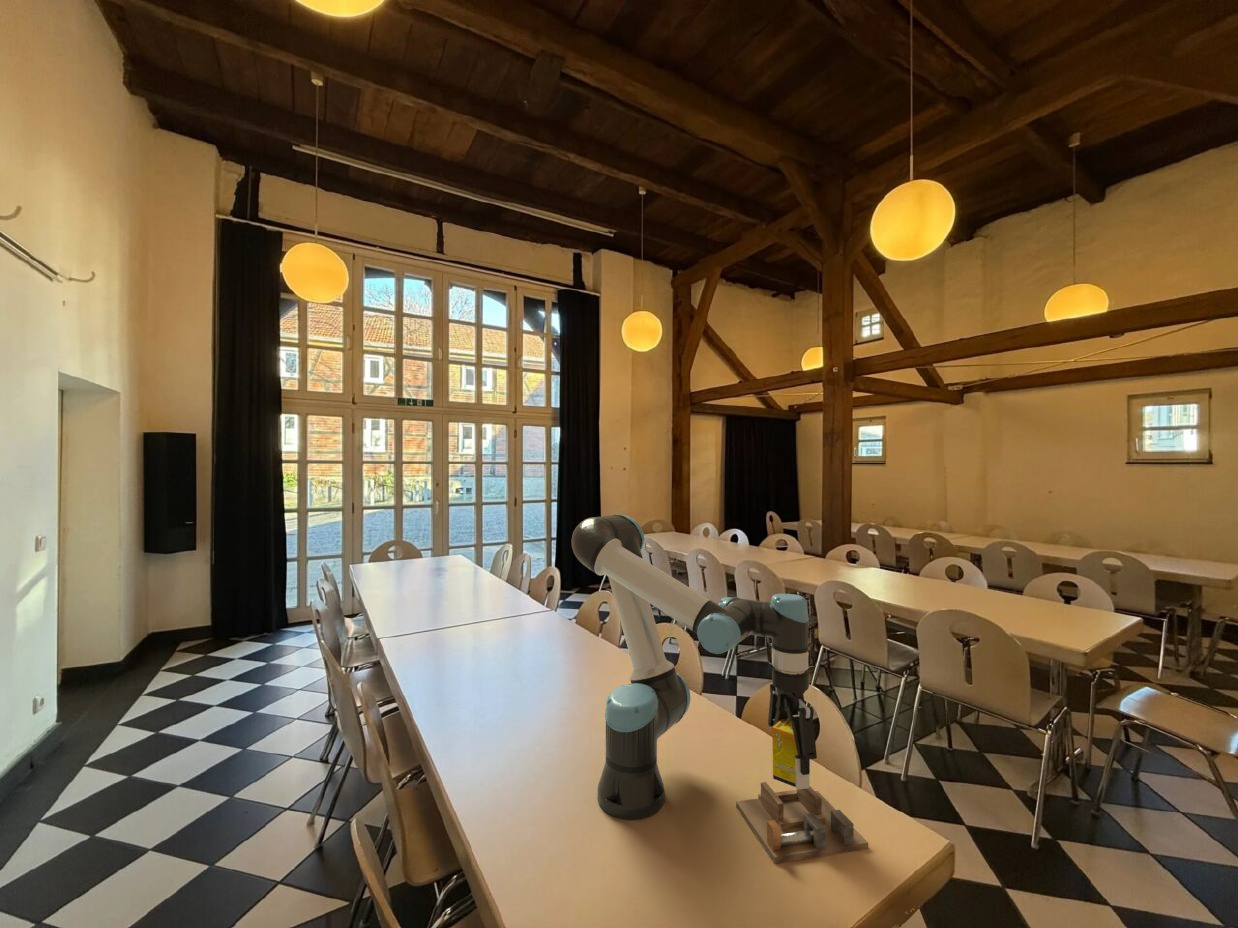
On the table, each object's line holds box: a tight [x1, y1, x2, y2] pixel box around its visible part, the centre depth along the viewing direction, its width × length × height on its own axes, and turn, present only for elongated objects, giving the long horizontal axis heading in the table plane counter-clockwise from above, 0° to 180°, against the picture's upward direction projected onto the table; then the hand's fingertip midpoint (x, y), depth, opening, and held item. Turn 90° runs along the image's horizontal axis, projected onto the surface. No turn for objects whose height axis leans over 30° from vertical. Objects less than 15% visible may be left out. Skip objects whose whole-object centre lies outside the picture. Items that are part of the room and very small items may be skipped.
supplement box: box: [771, 719, 798, 788], centre depth 110 cm, size 6×6×11 cm
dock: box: [735, 781, 869, 865], centre depth 107 cm, size 20×17×6 cm
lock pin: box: [767, 820, 827, 851], centre depth 100 cm, size 12×2×4 cm, turn 102°
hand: (791, 775), depth 110 cm, fingers closed on supplement box, 8 cm apart
